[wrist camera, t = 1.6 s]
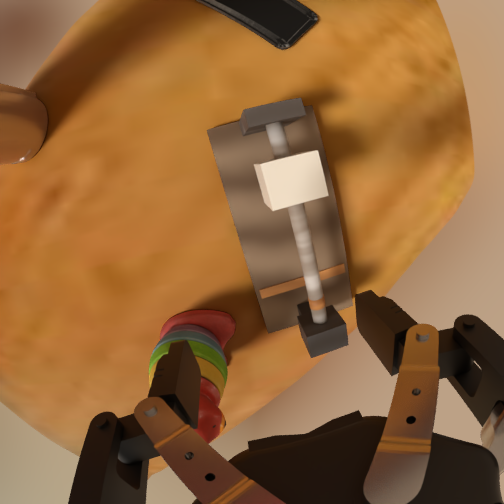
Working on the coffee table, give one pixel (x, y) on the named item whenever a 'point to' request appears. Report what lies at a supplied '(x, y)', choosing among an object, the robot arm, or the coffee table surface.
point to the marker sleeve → (291, 180)
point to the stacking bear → (202, 360)
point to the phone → (268, 18)
